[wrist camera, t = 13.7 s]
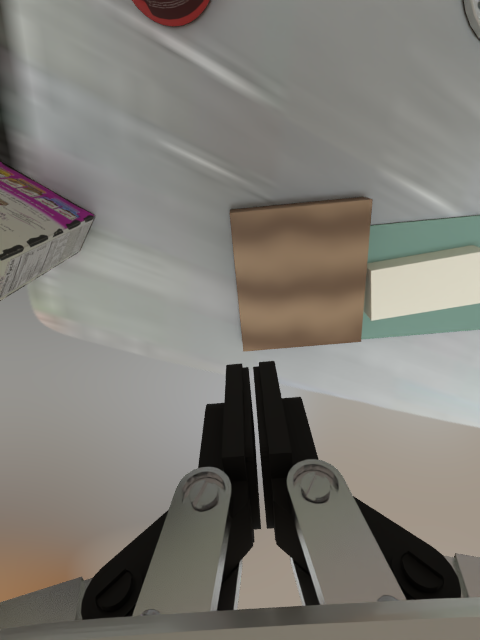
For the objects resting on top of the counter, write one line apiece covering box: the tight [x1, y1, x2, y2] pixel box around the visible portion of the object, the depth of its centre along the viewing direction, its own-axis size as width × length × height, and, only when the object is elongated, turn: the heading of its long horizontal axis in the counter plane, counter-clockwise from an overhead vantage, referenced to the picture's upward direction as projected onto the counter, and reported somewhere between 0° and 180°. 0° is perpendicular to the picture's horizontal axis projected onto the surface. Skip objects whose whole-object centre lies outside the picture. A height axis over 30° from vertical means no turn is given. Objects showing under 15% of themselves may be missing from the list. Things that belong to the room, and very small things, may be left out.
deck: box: [230, 197, 372, 351], centre depth 37 cm, size 16×14×2 cm
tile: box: [364, 245, 480, 321], centre depth 37 cm, size 6×12×2 cm, turn 100°
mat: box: [361, 215, 480, 339], centre depth 38 cm, size 14×16×1 cm
